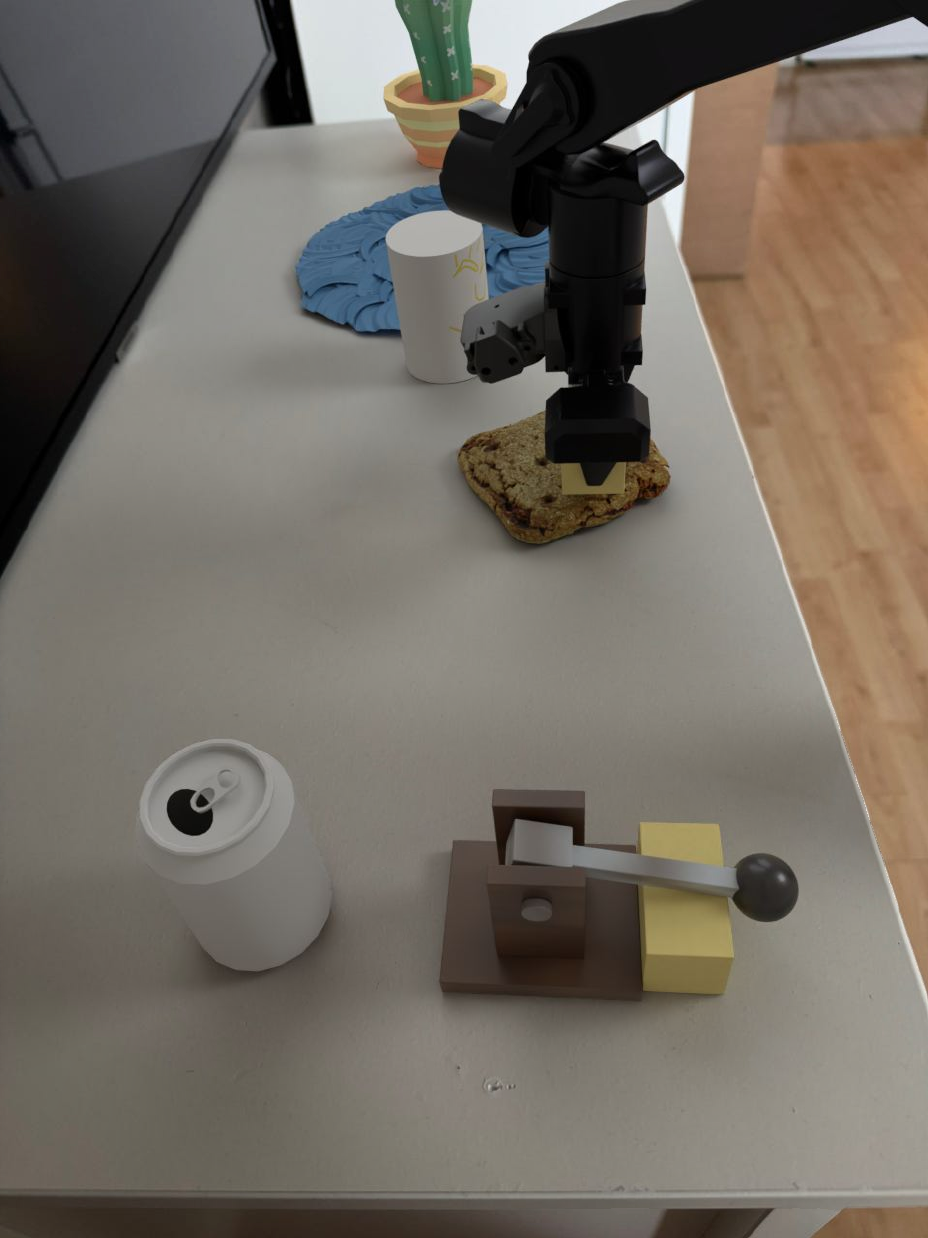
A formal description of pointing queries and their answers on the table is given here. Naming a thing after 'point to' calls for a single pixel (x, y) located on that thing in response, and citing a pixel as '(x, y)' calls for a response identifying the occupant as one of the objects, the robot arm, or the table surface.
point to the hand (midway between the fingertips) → (593, 463)
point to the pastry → (546, 483)
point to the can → (234, 853)
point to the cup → (436, 289)
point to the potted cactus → (438, 77)
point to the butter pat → (577, 485)
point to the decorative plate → (360, 270)
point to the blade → (661, 870)
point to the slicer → (538, 914)
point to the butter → (683, 916)
